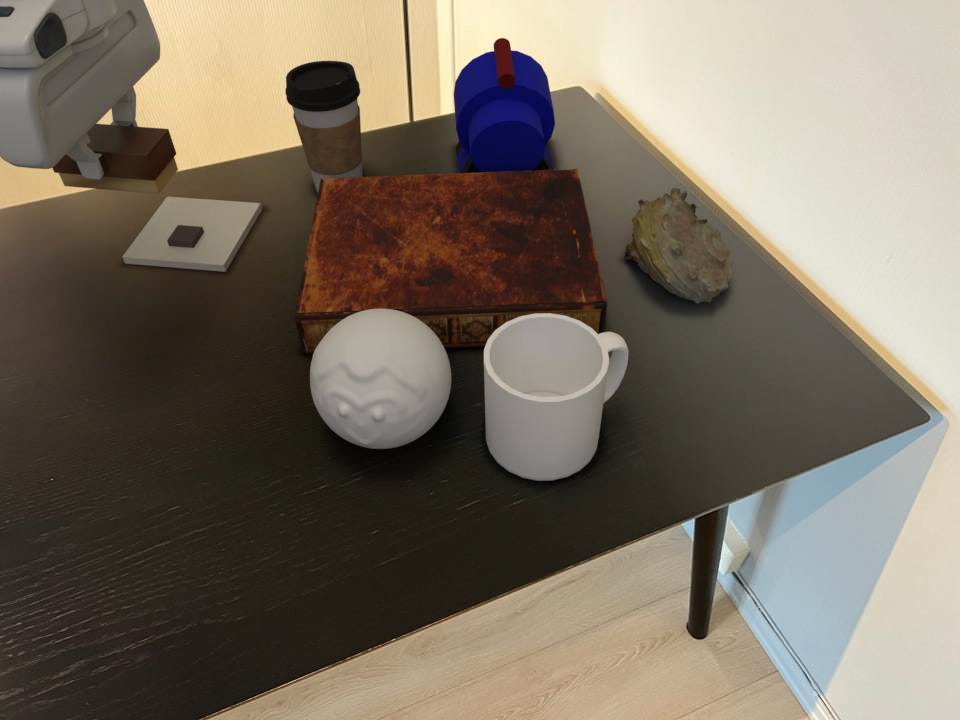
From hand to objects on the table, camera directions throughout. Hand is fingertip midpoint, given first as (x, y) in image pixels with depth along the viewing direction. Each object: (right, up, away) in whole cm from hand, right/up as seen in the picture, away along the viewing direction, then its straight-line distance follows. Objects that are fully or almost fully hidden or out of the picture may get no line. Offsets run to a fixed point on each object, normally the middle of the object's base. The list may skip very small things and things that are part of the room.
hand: (113, 157), depth 70 cm
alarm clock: (+35, +7, +32) cm, 48 cm away
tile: (-1, -3, +23) cm, 23 cm away
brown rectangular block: (0, -1, +2) cm, 2 cm away
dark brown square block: (-1, -4, +21) cm, 21 cm away
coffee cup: (+15, +4, +30) cm, 34 cm away
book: (+29, -8, +18) cm, 35 cm away
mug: (+39, -24, +1) cm, 46 cm away
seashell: (+53, -8, +17) cm, 57 cm away
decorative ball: (+24, -24, +3) cm, 34 cm away
